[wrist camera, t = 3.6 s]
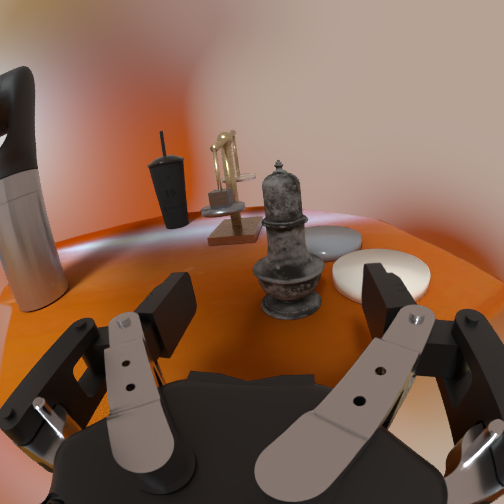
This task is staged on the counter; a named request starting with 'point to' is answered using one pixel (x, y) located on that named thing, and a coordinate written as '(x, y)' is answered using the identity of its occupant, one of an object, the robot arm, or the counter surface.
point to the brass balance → (229, 199)
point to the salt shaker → (287, 252)
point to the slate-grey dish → (332, 241)
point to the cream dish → (397, 262)
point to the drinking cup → (170, 188)
